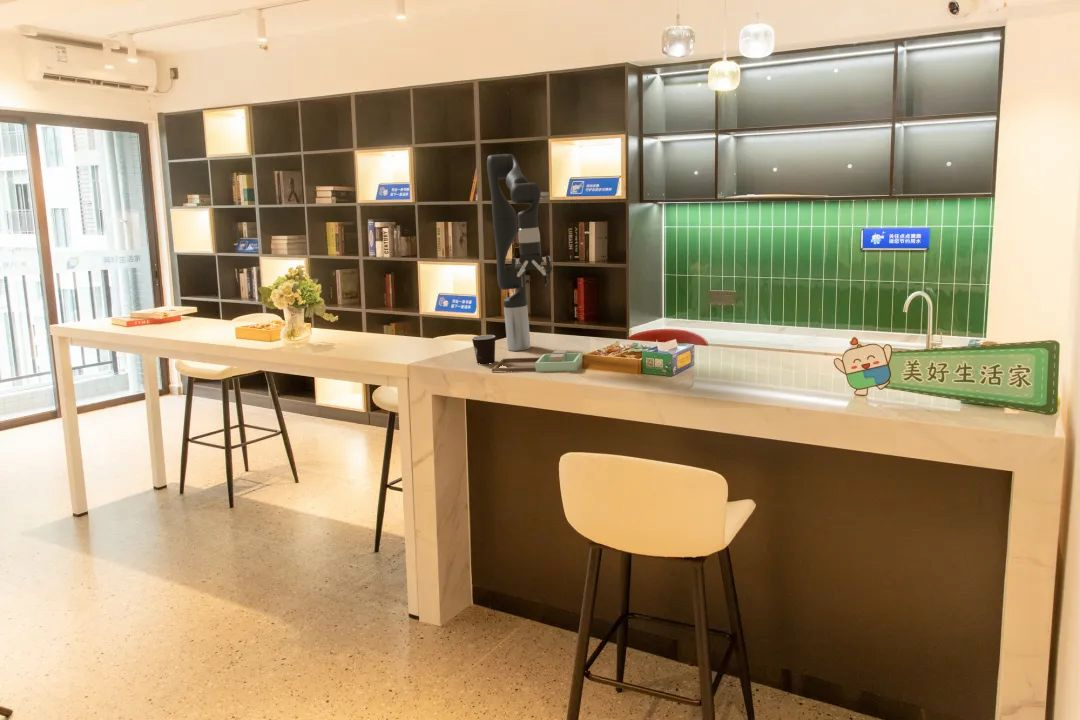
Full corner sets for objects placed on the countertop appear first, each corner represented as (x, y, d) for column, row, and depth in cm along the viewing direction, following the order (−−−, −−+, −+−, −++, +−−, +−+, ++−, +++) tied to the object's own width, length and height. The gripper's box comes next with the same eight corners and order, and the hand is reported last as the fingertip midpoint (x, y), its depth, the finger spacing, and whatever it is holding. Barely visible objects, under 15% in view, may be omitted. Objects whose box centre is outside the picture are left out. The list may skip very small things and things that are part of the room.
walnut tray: (503, 362, 306) (503, 358, 306) (546, 361, 303) (545, 357, 302) (492, 373, 291) (491, 369, 291) (536, 372, 288) (536, 367, 287)
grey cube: (555, 362, 297) (554, 350, 296) (568, 362, 296) (567, 350, 295) (553, 365, 293) (552, 353, 292) (565, 365, 292) (564, 352, 291)
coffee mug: (496, 365, 303) (494, 338, 301) (473, 367, 303) (470, 340, 301) (499, 358, 314) (496, 332, 312) (476, 360, 315) (473, 334, 313)
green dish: (544, 363, 300) (543, 354, 299) (582, 362, 297) (581, 352, 296) (535, 372, 287) (535, 363, 286) (575, 371, 283) (574, 361, 283)
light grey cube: (552, 366, 291) (551, 354, 290) (565, 366, 290) (564, 353, 289) (550, 369, 287) (549, 357, 286) (563, 369, 286) (562, 356, 285)
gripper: (551, 238, 294) (554, 283, 297) (512, 241, 297) (516, 285, 300) (547, 240, 286) (550, 287, 290) (507, 243, 290) (511, 289, 293)
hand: (533, 286), depth 295 cm, fingers open, 8 cm apart
